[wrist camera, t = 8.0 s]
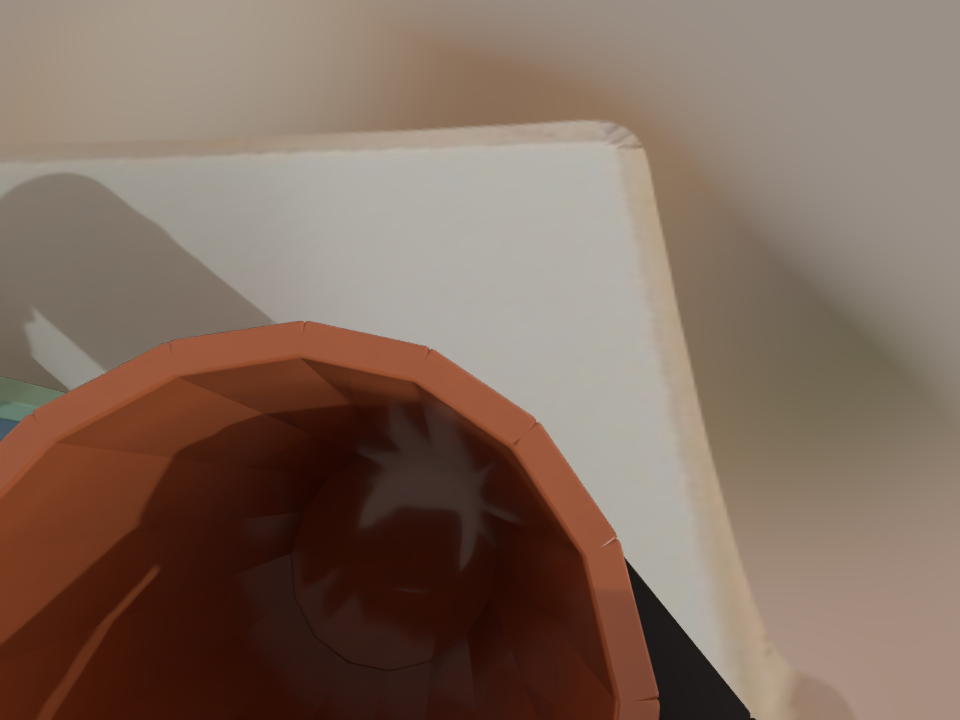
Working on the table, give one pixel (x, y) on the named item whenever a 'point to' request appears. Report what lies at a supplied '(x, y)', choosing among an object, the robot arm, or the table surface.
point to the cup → (306, 545)
